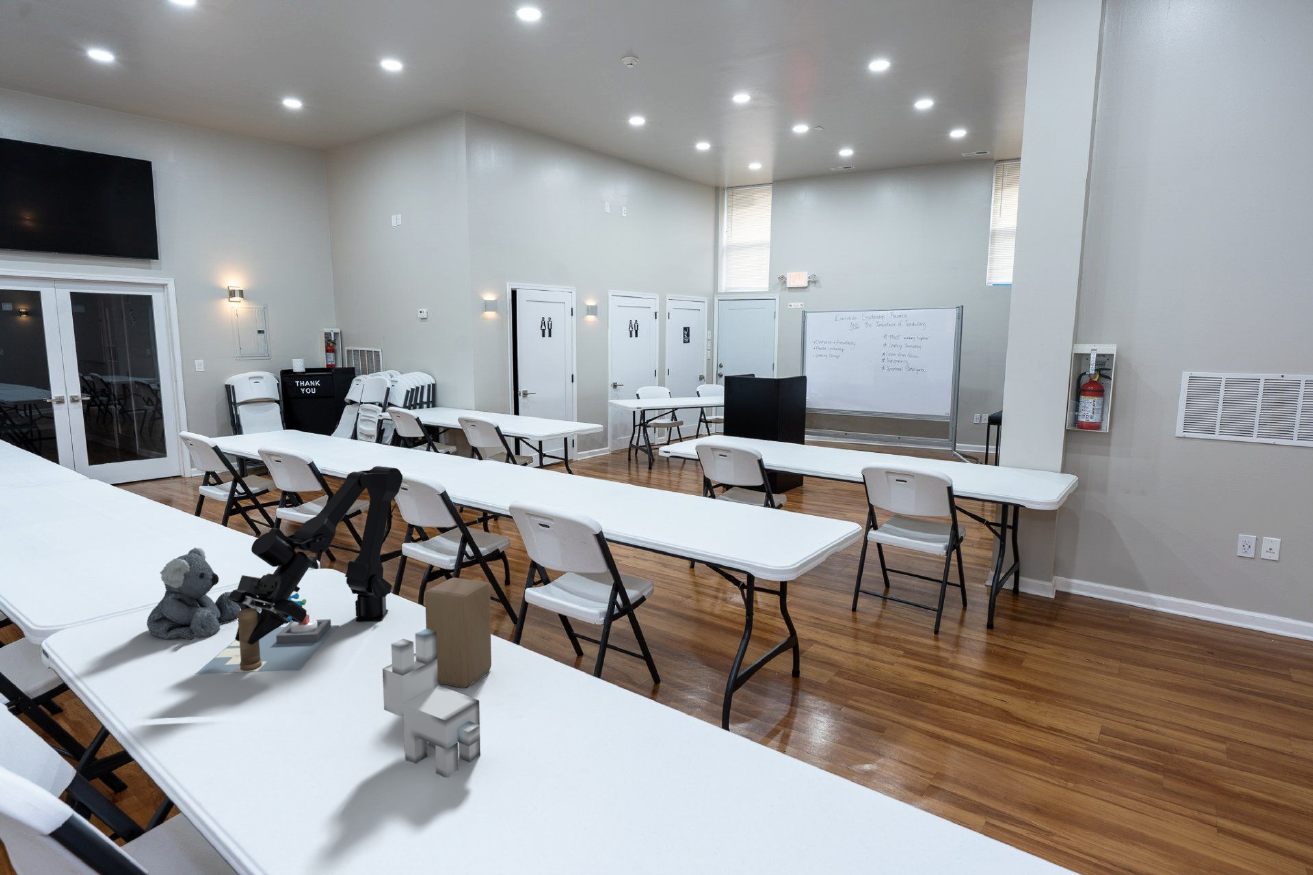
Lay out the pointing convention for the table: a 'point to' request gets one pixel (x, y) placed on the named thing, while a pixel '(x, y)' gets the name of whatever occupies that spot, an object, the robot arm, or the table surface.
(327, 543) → the robot arm
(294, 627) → the dome button
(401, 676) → the toy llama
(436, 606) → the block
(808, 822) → the table surface
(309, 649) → the board
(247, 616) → the brown wooden cylinder
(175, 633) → the koala plush
